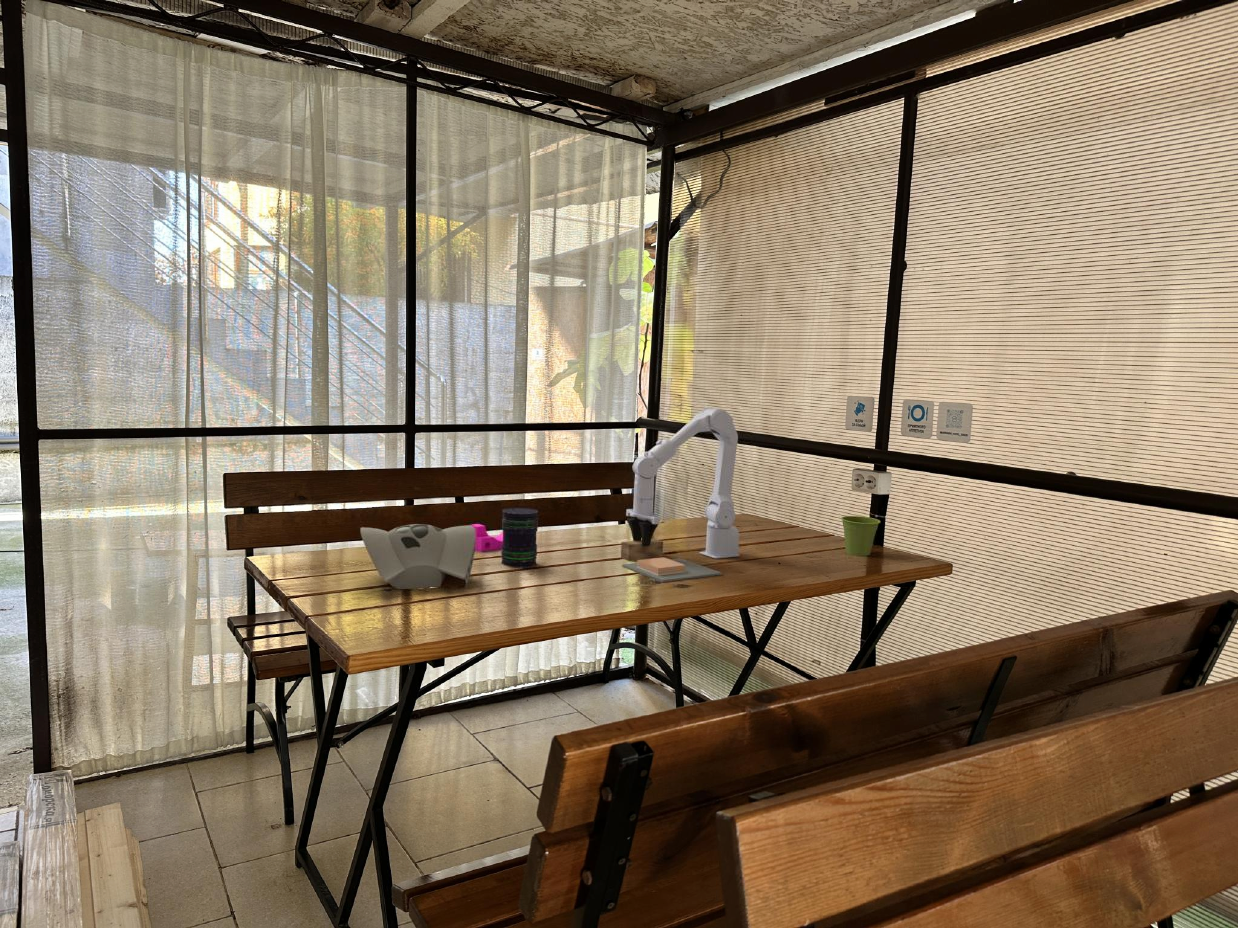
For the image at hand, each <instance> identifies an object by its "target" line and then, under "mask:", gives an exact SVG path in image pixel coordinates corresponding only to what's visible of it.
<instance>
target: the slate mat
mask: <svg viewBox="0 0 1238 928" xmlns="http://www.w3.org/2000/svg"><path fill="white" fill-rule="evenodd" d="M669 559H670V560H673V561H676V562H678V563H681V564H684V565H685V572H684V573H675V574H667V575H659V576H658V575H655V574H653V573H650V572H648V571H645V570H643V569H640V568H637V562H634V563H633V562H631V563H623V564H622V568H625V569H628V570H630V571H633V572H635V573H637V574H640V575H643V576H644V577H646V578H647V577H648V578H650V579H652V580H655V581H658V582H660V583H669V582H676V581H685V580H692V579H693V580H694V579H698V578H708V577H715V575H717V576H722V575H723V573H722V572H720V571H718V570H715V569H714V568H713V569H712V568H709V567H706V566H704V565H701V564H699V563H695V562H692V561H691V560H690V561H689V560H686V559H684V558H680V557H678V558H669Z"/></svg>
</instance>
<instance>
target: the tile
mask: <svg viewBox="0 0 1238 928" xmlns="http://www.w3.org/2000/svg"><path fill="white" fill-rule="evenodd" d="M670 559H671V558H667V557H659V558H650V559H641V560H636V561H637V562H636V563H637V568H640V569H643V570H645V571H648V572H650V573H653V574H655V575H658V576H659V575H667V574H675V573H684V572H685V565H684V564H681V563H678V562H676V561H673V560H670Z"/></svg>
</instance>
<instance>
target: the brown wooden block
mask: <svg viewBox="0 0 1238 928" xmlns="http://www.w3.org/2000/svg"><path fill="white" fill-rule="evenodd" d="M620 547H621V548H620V559H622V560H624V561H627V562H633V561H637V560H644V559H653V558H663V554H664V552H663V551H664V541H663V540H660V539H657V538H653V539H651V542H650V545H649V546H642V539H641V540H638V541H633V540H630V541H629V540H628V541H621V544H620Z"/></svg>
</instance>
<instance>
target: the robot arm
mask: <svg viewBox="0 0 1238 928" xmlns="http://www.w3.org/2000/svg"><path fill="white" fill-rule="evenodd" d="M703 432H711V433H712V434H713V435H714V437H715V438H716V439H717V440H718V441H719V442H718V449H717V457H716V458H717V459H716V467H715V473H714V474H715V475H714V482H713V492H712V493H711V495H710V496H709V499H708V503H707V505H706V506H705V509H704V516H705V518H706V520H707V523H706V542H705V551H699V554H700V555H704V556H706V557H710V558H713V559H726V558H734V557H741V554H740V553H739V546H740V544H739V543H740V533H739V530H738V528H737V527H736V526H735V525H733V524H734V523H735V520H736V512H735V510H734V508H735V507H734V505H735V503H734V499H733V497H732V490H733V489H732V488H733V482H734V475H735V473H734V472H735V466H736V456H737V447H738V441H739V435H738V431H737V430H736V427H735V424H734V418H733V417H732V416H731V414H730V413H729V412H727V411H726V410H725V409H720V408H719V409H718V408H713V407H706V408H703V409H702V411H700V412H698V413H697V414H695V415H694V417H692V418H691V420H689V421H688V422H687V423H685V425H684V426H683V427H682V428H681V429H679V430H678V431H677V432H676V433H675V434H674V435H673V436H672V437H671V438H670V439H665V438H664V439H662V440H657V441H656V442H655V444H656V445H655V446H653V447H652V448H651V449H649V450H648V451H645V452H643V456H638V457H637V458H636V459H635V460H634V462H633V464H632V471H633V473H634V484H633V485H634V486H633V506H632V507H633V508H627V509H626V512H625V516H626V517H630V518H627V519H626V522H627V523H628V526H629V529H630V532H631V536H632V541H638V540H642V546H649V545H650V542H651V539H652V538H653V535H654V533H655V531H656V530H657V527H658V526H659V525H660V523H661V516H658V515H656V514H654V495H655V476H656V475H657V473H658V471H659V469H661V467H662V466H664V465H665V464H666V463H667V462H669V461H670V460H672V458H673V457H674V456H676V455H677V449H678V448H679V447H681V446H682V445H683V444H685V443H686V442H687V441H689V440H690V439H691V438H692V437H694V436H695V435H697V434H698V433H703Z"/></svg>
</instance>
